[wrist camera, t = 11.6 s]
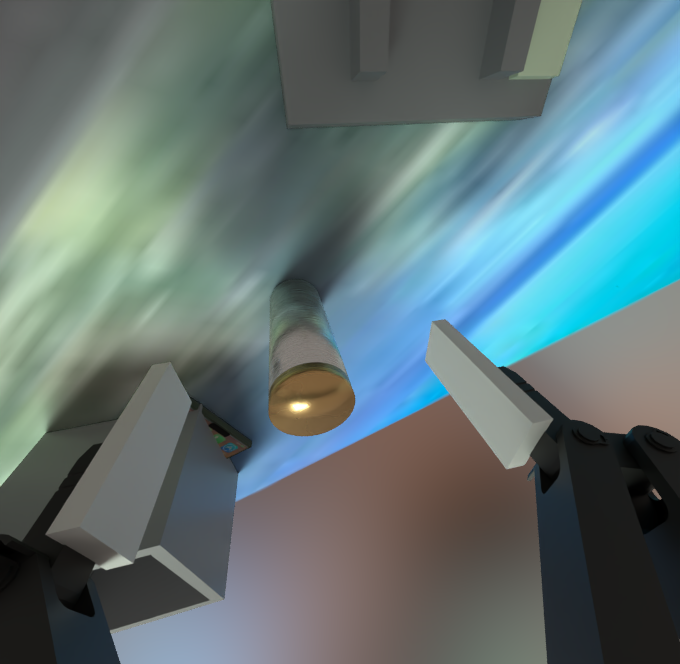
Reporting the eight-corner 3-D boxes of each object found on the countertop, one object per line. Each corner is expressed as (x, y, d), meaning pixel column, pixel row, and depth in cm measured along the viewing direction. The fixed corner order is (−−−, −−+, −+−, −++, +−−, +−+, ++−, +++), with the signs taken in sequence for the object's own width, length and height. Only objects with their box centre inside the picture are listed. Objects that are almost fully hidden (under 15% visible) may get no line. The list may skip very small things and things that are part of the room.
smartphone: (54, 469, 23) (44, 483, 22) (192, 393, 22) (188, 404, 21) (134, 499, 28) (129, 511, 27) (252, 437, 26) (251, 448, 25)
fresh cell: (275, 326, 20) (277, 443, 11) (265, 282, 18) (259, 385, 9) (321, 319, 20) (355, 425, 12) (317, 275, 18) (354, 367, 10)
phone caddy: (122, 501, 27) (55, 650, 18) (45, 433, 20) (-109, 616, 12) (238, 474, 28) (224, 599, 20) (201, 403, 22) (159, 545, 14)
